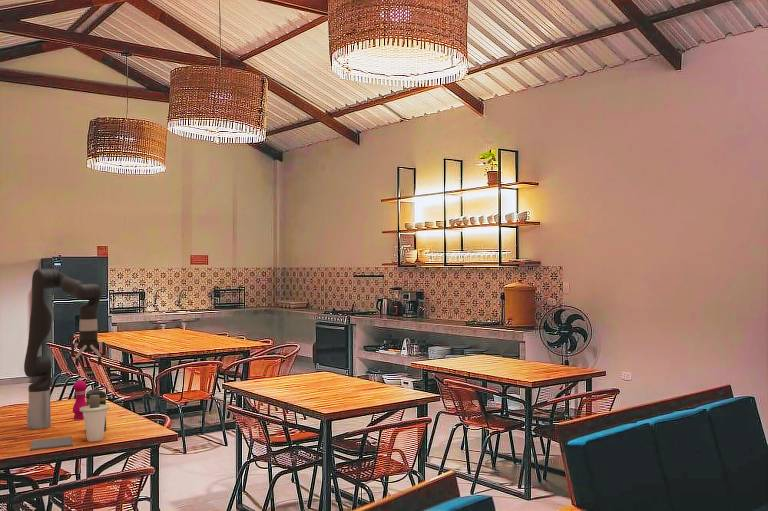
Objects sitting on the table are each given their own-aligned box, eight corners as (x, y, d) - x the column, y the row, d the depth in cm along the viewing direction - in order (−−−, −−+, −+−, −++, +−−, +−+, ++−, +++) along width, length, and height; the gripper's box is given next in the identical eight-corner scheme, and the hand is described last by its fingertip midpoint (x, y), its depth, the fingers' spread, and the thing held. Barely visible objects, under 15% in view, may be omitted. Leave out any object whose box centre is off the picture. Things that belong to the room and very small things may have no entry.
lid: (75, 412, 311) (75, 398, 311) (85, 407, 323) (85, 393, 323) (104, 411, 312) (103, 397, 312) (113, 406, 324) (112, 392, 324)
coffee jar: (108, 430, 334) (107, 390, 334) (90, 433, 329) (89, 392, 329) (102, 427, 342) (101, 387, 342) (84, 429, 337) (84, 389, 337)
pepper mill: (75, 417, 366) (74, 377, 366) (90, 416, 367) (89, 376, 367) (70, 420, 359) (69, 379, 359) (85, 419, 360) (85, 378, 360)
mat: (30, 450, 301) (30, 448, 301) (31, 442, 315) (31, 440, 315) (72, 445, 307) (72, 444, 307) (72, 437, 322) (72, 436, 322)
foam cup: (98, 442, 312) (97, 411, 312) (79, 441, 314) (78, 411, 314) (111, 437, 321) (110, 407, 321) (92, 436, 323) (91, 407, 323)
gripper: (70, 330, 317) (70, 368, 317) (106, 329, 323) (106, 366, 323) (70, 329, 324) (70, 365, 324) (105, 327, 330) (105, 363, 330)
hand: (88, 365), depth 324 cm, fingers open, 8 cm apart
